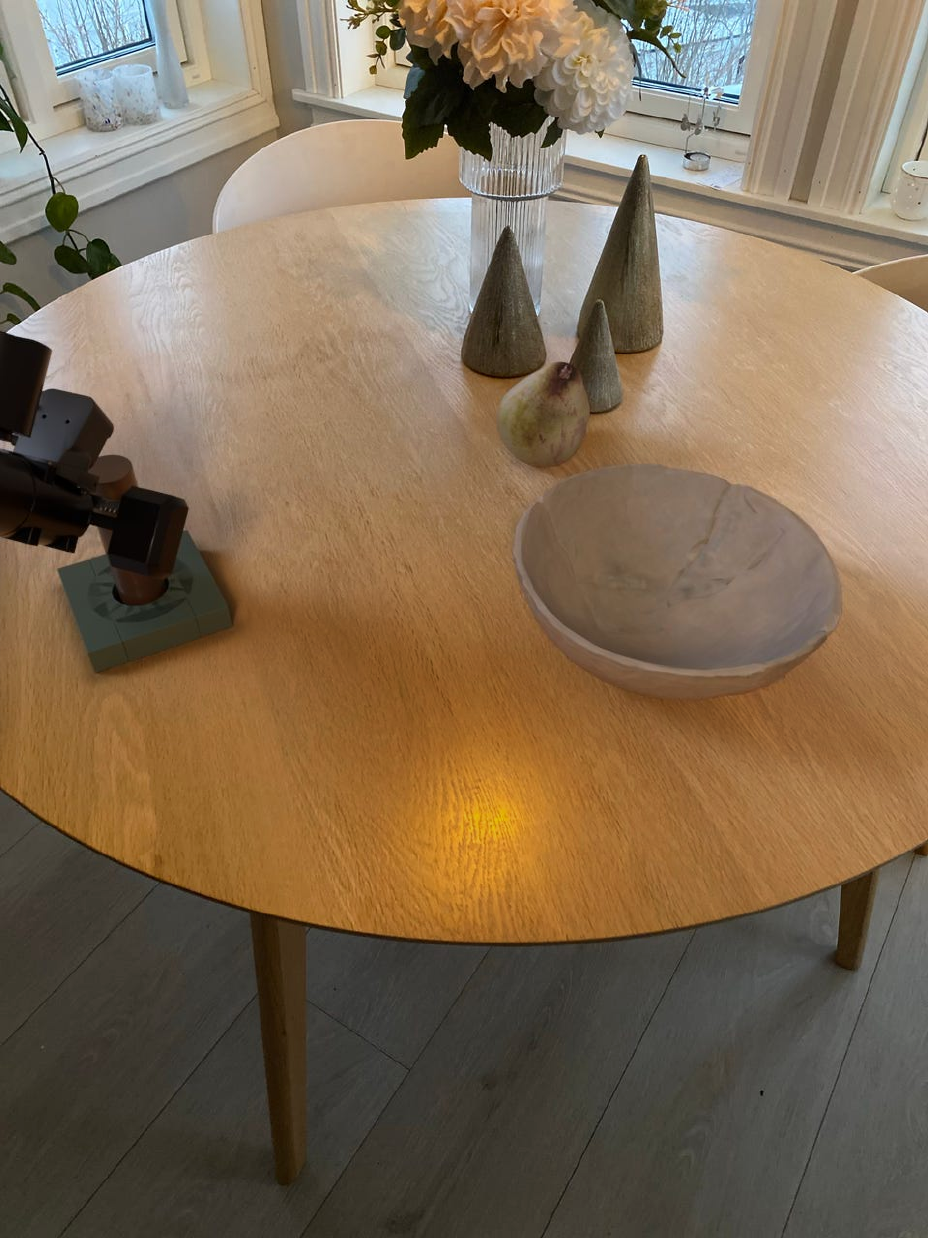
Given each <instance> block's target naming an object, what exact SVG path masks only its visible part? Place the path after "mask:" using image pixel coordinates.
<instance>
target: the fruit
mask: <svg viewBox="0 0 928 1238" xmlns="http://www.w3.org/2000/svg"><path fill="white" fill-rule="evenodd" d="M590 414H591V407H590V402H589V398H588V394H587V391H586V388H585V385H584V382H583V379H582V375H581V372H580V371H579V369H577V367H575V366H574V365H573V364H571V363H569V362H566V361H554V362H552V363H548V364H547V365H545V366H543V367H542V368H540V369H538V370H536V371H534V372H532V373H530V374H528V375H527V376H526V377H524V378H522V380H520V381H519V382H518V383H517V384H515V385H513V387H512V388H510V389H509V390H508V391H507V392H506V393H505V395H504V396H503V397H502V398H501V400H500V403H499V406H498V411H497V415H496V416H497V417H496V428H497V432H498V435H499V437H500V440H501V441H502V443H503V444H504V446H505V447H506V448H507V450H508V451H509V452H510V453H511V454H512V455H513V457H515V458H516V459H518V460H519V461H521V462H523V463H525V464H527V465H530V466H532V467H535V468H542V467H543V468H544V467H546V468H547V467H556V466H560V465H562V464H563V463H565V462H567V461H568V460H570V459H571V458H572V457H573V456H574V455H575V454H576V453H577V451H578V450H579V448H580V447H581V444H582V442H583V441H584V438H585V434H586V431H587V425H588V423H589V419H590Z"/></svg>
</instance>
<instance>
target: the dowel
mask: <svg viewBox="0 0 928 1238" xmlns="http://www.w3.org/2000/svg"><path fill="white" fill-rule="evenodd" d="M88 473H91V474H94V475H97V476H100V479H99V483H98V486H97V490H96V492H95V493H92V492H90V494H93V495H97V496H101V497H105V498H109V499H113V500H117V501H121V497H122V495H123V494H124V493H125V492H126V491H127V490H128V489H129V488H130V487H131V486H136V487H139V484H138V480H137V476H136V473H135V470H134V466H133V462H132V461H131V460H130V459H129V458H128V457H126V456H123V455H120V454H104V455H99V456H98V458H97V460H96V462H95V464H94V465H93V467H92V468H90V469H89V470H88ZM93 512H97V513H100V514H104V515H108V516H112V517H117V514H114V513H113V512H112V513H110V512H106V511H104V510H103V511H102V510H99V509H95V508H93ZM96 528H97V531H98V534H99V537H100V540H101V541H100V542H101V544H102V546H103V549H104V553H105V554H106V556H107V559H108V562H109V565H110V568H111V571H112V574H113V577H114V581H115V584H116V587H117V590H118V593H119V596H120V599H121V602H122V604H124V605H129V606H140V605H146V604H149V603H152V602H154V601H156V600H157V599H159V598H160V597H162V596H163V595H164V594H165V592H166V591H167V588H166V585H165V581H164V579H158V578H153V577H148V576H144V575H141V574H137V573H133V572H130V571H126V570H122V569H119V568H115V567H111V564H110V560H109V557H108V554H107V552H108V548H109V544H110V540H111V536H112V532H113V531H112V530H108V529H104V528H100V527H97V526H96Z"/></svg>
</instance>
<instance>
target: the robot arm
mask: <svg viewBox="0 0 928 1238" xmlns="http://www.w3.org/2000/svg"><path fill="white" fill-rule="evenodd" d="M52 355H53V349H52V348H51V347H49V346H48V345H46V344H44V343H42V342H40V341H39V340H35V339H33V338H29V337H28V338H27V337H22V336H17V335H14V334H11V333H8V332H5V331H3V330H0V441H1V442H7V443H10V445H12V447H14V448H13V450H9V449H4V448H0V538H2V539H6V540H9V541H10V540H11V541H13V542H17V543H20V544H24V545H28V546H33V547H39V546H43V547H47V548H49V549H53V550H58V551H61V552H65V553H69V554H75V553H76V550H77V546H78V541H79V539H80V538H81V537H83V536H84V534H86V532H87V531H88V530H89V529H88V528H89V527H90V526H93V527H96V528H97V527H100V528H104V529H108V530H112V531H113V532H112V536H111V540H110V544H109V548H108V552H107V554H108V557H109V560H110V564H111V567H115V568H119V569H122V570H126V571H130V572H133V573H137V574H141V575H144V576H148V577H153V578H158V579H165V578H167V577H168V576H170V575H171V574H172V573H173V569H174V565H175V561H176V557H177V553H178V549H179V545H180V541H181V537H182V534H183V531H185V525H186V521H187V517H188V515H189V510H190V508H189V506H188V503H187V502H186V500H185V498H184V499H183V498H181V497H178V496H175V495H173V494H168V493H164V492H160V491H156V490H152V489H148V488H144V487H140V486H138V487H136V486H131V487H130V488H129V489H128V490H127V491H126V492H125V493H124V494H123V495H122V497H121V501H117V500H113V499H109V498H105V497H101V496H97V495H93V494H90V492H92V493H95V492H96V490H97V486H98V483H99V479H100V476H97V475H94V474H91V473H88V470H89V469H90V468H92V467H93V465H94V464H95V462H96V460H97V458H98V457H100V456H101V453H102V451H103V449H104V447H105V445H106V443H107V441H108V440H109V439H111V438H112V436H113V434H114V431H115V424H114V423H113V421H112V420H111V419H110V418H109V417H108V416H107V414H106V413H105V412H104V411H103V410H102V408H101V407H100V406H99V405H98V403H97V402H96V401H95V400H94V399H93V398H92V397H91V396H89V395H86V394H82V393H81V394H80V393H76V392H71V391H67V390H62V389H58V388H47V389H45V390H44V385H45V382H46V378H47V374H48V370H49V366H50V362H51V359H52ZM93 508H95V509H99V510H102V511H103V510H104V511H106V512H110V513H112V512H113V513H114V514H117V517H112V516H108V515H104V514H100V513H97V512H93Z"/></svg>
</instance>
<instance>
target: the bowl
mask: <svg viewBox="0 0 928 1238" xmlns="http://www.w3.org/2000/svg"><path fill="white" fill-rule="evenodd" d="M512 556H513V563H514V567H515V570H516V574H517V579H518V582H519V585H520V588H521V591H522V593H523V596H524V598H525V601H526V603H527V605H528V608H529V610H530V611H531V614H532V615H533V617H534V619H535V621H536V622H537V624H538V625H539V627H540V628H541V629H542V632H544V634H545V635H546V636H547V638H549V640H550V641H551V642H552V644H553V646H555V647H556V648H557V649H558V650H559V652H561V653H562V654H563V655H564V656H565V657H567V658H568V659H569V661H571V662H572V663H574V664H575V665H576V666H578V667H579V668H581V669H582V670H583V671H585V672H587V673H588V674H590V675H591V676H593V677H594V678H597V679H598V680H600V681H602V682H605V683H606V684H609V685H611V686H613V687H616V688H618V689H619V690H620V689H621V690H624V691H626V692H628V693H632V694H636V695H639V696H643V697H648V698H652V699H662V700H663V699H664V700H676V701H700V700H710V699H714V698H720V697H728V696H729V697H730V696H740V695H745V694H750V693H753V692H755V691H757V690H761V689H763V688H766V687H769V686H771V685H774V684H778V683H780V682H782V681H784V680H786V675H787V674H789V672H790V671H792V670H794V669H796V668H797V667H798V666H799V665H801V664H803V663H804V662H805V661H806V660H808V658H809V657H810V656H811V655H813V654H814V653H815V652H816V651H818V650H819V649H820V648H821V647H822V645H824V644H825V643H826V642H827V640H828V638H829V637H830V636H831V634H832V633H834V632H835V630H836V629H837V627H838V625H839V623H840V620H841V617H842V612H843V594H842V593H843V591H842V583H841V579H840V575H839V571H838V569H837V566H836V564H835V562H834V559H833V558H832V555H831V554H830V552H829V550H828V549H827V547H826V545H825V544H824V542H823V541H822V539H821V538H820V536H819V535H818V533H817V532H816V531H815V530H814V528H812V526H811V525H810V524H809V523H808V522H807V521H805V520H804V519H803V518H802V517H801V516H800V515H799V514H798V513H796V512H794V511H793V510H792V509H790V508H789V507H788V506H786V505H785V504H783V503H781V501H779V500H778V499H776V498H774V497H772V496H770V495H768V494H766V493H764V492H762V491H760V490H759V489H757V488H755V487H753V486H750V485H746V484H741V483H735V484H732V483H731V482H729V481H728V480H727V479H726V478H722V477H720V476H716V475H714V474H710V473H705V472H700V471H694V470H688V469H681V468H674V467H669V466H666V465H662V464H659V463H632V464H631V463H630V464H624V465H610V466H604V467H600V468H595V469H590V470H587V471H584V472H578V473H575V474H572V475H570V476H568V477H565V478H564V479H562V480H560V481H558V482H556V483H554V484H553V485H552V486H551V487H549V488H548V489H547V490H546V491H545V492H544V493H543V494H542V495H540V497H539V500H538V501H534V503H533V504H531V505H530V506H529V507H527V508H526V509H525V510H524V512H523V513H522V515H521V517H520V519H519V521H518V523H517V525H516V529H515V534H514V540H513V547H512Z"/></svg>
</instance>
